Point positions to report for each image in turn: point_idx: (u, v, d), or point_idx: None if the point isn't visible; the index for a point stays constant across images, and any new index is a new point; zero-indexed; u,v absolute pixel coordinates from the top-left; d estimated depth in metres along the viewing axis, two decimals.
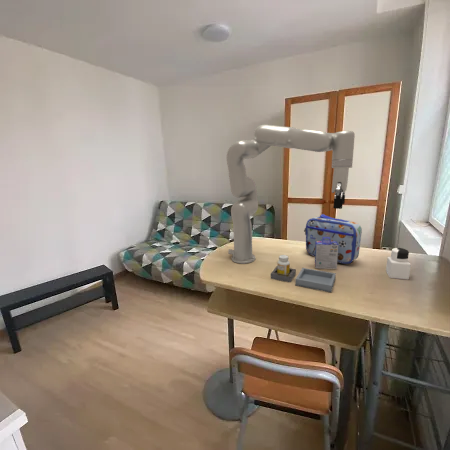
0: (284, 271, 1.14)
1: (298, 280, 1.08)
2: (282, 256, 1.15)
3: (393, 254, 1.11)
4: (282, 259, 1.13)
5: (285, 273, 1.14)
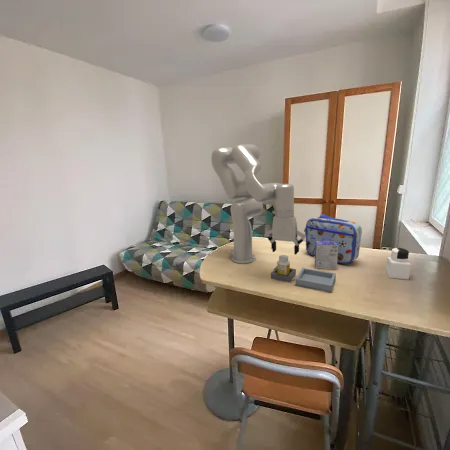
0: (284, 271, 1.14)
1: (298, 280, 1.08)
2: (282, 256, 1.15)
3: (393, 254, 1.11)
4: (282, 259, 1.13)
5: (285, 273, 1.14)
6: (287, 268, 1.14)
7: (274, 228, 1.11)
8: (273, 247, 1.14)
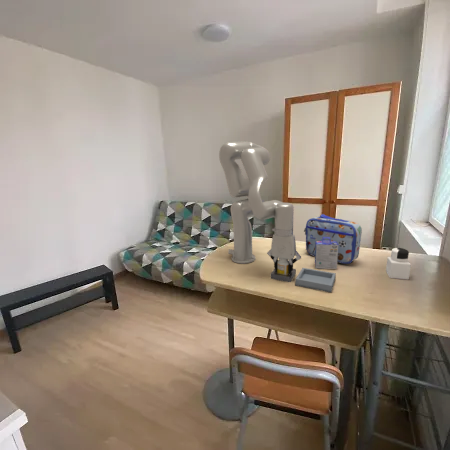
0: (284, 271, 1.14)
1: (298, 280, 1.08)
2: None
3: (393, 254, 1.11)
4: (282, 259, 1.13)
5: (285, 273, 1.14)
6: (287, 268, 1.14)
7: (273, 245, 1.13)
8: (276, 266, 1.16)
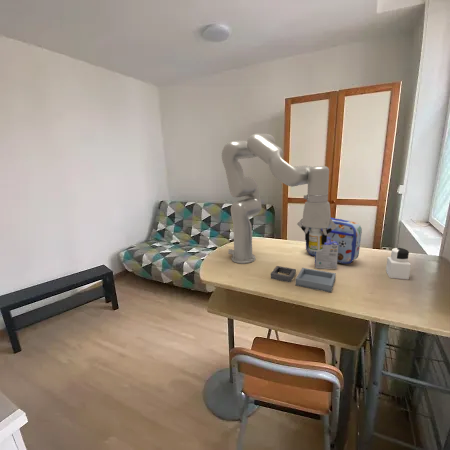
0: (317, 243, 1.03)
1: (298, 280, 1.08)
2: None
3: (393, 254, 1.11)
4: (315, 229, 1.03)
5: (318, 245, 1.04)
6: (320, 239, 1.03)
7: (305, 214, 1.03)
8: (307, 238, 1.06)
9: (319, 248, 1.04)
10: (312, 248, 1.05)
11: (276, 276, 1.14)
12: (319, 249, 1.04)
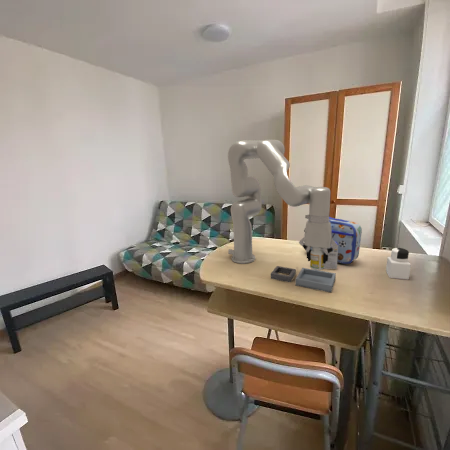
0: (318, 261, 1.05)
1: (298, 280, 1.08)
2: None
3: (393, 254, 1.11)
4: (316, 248, 1.05)
5: (320, 263, 1.05)
6: (322, 258, 1.05)
7: (307, 234, 1.04)
8: (309, 256, 1.07)
9: (320, 267, 1.06)
10: (314, 267, 1.06)
11: (276, 276, 1.14)
12: (320, 268, 1.06)
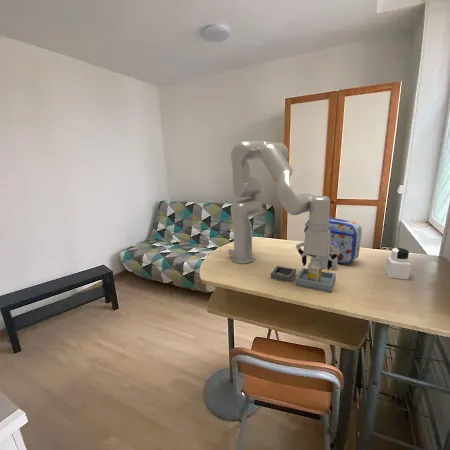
0: (316, 275, 1.07)
1: (298, 280, 1.08)
2: (314, 259, 1.08)
3: (393, 254, 1.11)
4: (314, 262, 1.07)
5: (317, 277, 1.07)
6: (319, 272, 1.07)
7: (307, 242, 1.05)
8: (304, 261, 1.09)
9: (318, 280, 1.08)
10: (311, 280, 1.08)
11: (276, 276, 1.14)
12: (318, 281, 1.08)
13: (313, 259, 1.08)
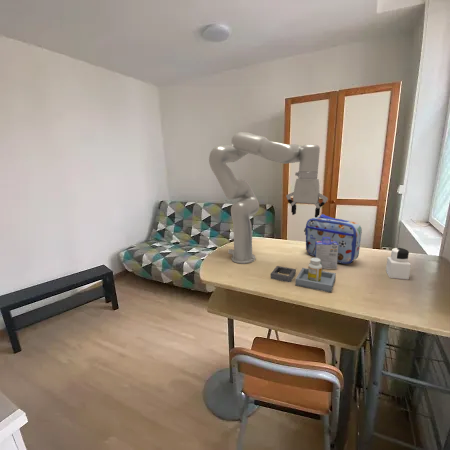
0: (316, 275, 1.07)
1: (298, 280, 1.08)
2: (314, 259, 1.08)
3: (393, 254, 1.11)
4: (314, 262, 1.07)
5: (317, 277, 1.07)
6: (319, 272, 1.07)
7: (296, 190, 1.10)
8: (293, 210, 1.14)
9: (318, 280, 1.08)
10: (311, 280, 1.08)
11: (276, 276, 1.14)
12: (318, 281, 1.08)
13: (313, 259, 1.08)
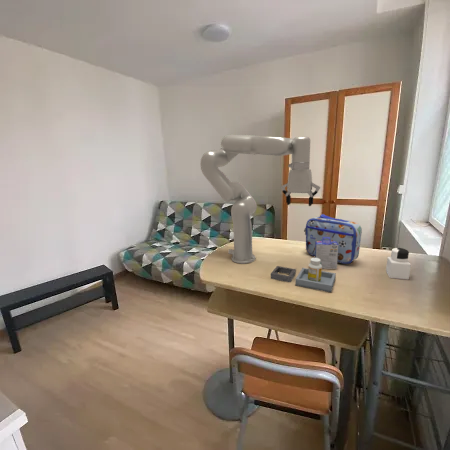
0: (316, 275, 1.07)
1: (298, 280, 1.08)
2: (314, 259, 1.08)
3: (393, 254, 1.11)
4: (314, 262, 1.07)
5: (317, 277, 1.07)
6: (319, 272, 1.07)
7: (290, 180, 1.16)
8: (288, 200, 1.19)
9: (318, 280, 1.08)
10: (311, 280, 1.08)
11: (276, 276, 1.14)
12: (318, 281, 1.08)
13: (313, 259, 1.08)
